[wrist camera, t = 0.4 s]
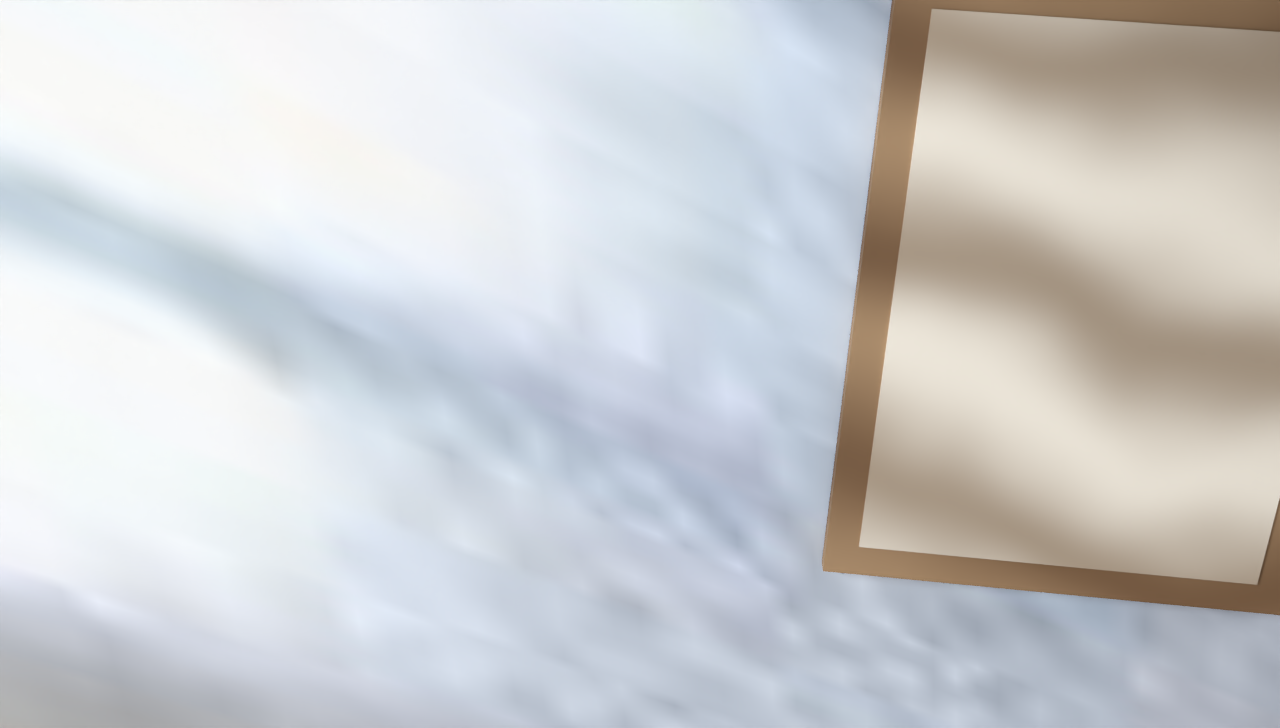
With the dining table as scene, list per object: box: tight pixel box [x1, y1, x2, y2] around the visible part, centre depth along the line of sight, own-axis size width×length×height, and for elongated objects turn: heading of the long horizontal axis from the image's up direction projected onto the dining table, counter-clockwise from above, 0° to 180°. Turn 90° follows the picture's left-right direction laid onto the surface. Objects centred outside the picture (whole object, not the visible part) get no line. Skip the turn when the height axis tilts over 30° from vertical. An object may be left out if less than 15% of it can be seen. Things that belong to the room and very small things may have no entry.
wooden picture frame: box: [822, 0, 1280, 615], centre depth 34 cm, size 18×14×1 cm
